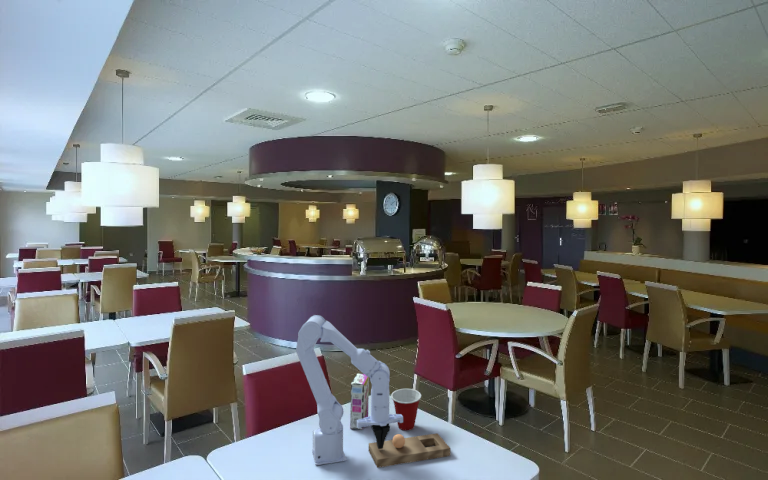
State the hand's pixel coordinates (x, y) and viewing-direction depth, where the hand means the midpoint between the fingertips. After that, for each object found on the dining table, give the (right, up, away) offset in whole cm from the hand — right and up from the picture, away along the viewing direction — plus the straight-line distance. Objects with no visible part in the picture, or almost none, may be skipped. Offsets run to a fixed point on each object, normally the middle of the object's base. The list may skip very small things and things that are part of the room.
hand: (379, 447), depth 135 cm
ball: (+6, +1, +2) cm, 6 cm away
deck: (+9, -3, +3) cm, 10 cm away
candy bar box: (-8, -3, +24) cm, 25 cm away
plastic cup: (+9, -3, +21) cm, 23 cm away
